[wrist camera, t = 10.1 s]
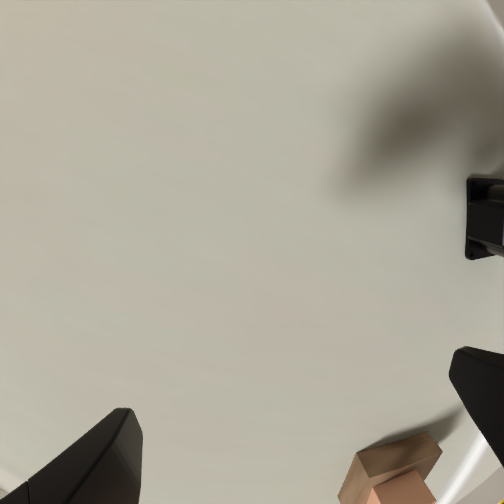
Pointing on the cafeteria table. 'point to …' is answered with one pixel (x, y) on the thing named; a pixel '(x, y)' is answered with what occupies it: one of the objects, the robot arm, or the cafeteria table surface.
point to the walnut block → (388, 466)
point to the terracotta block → (402, 491)
